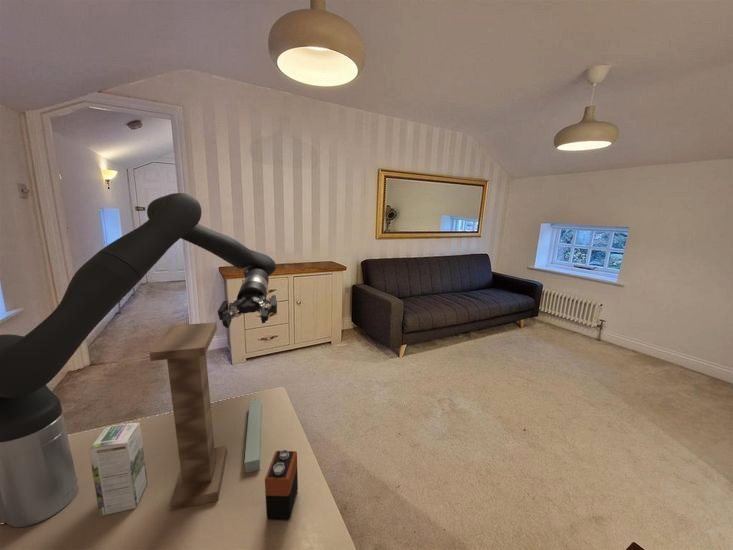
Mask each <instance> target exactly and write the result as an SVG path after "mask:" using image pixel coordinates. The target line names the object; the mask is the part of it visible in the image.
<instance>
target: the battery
mask: <svg viewBox="0 0 733 550" xmlns="http://www.w3.org/2000/svg"><path fill="white" fill-rule="evenodd" d="M298 479H299V477H298V452H297V450H296V451H295V450H288V449H282V450H276V451H275V452H274V454H273V457H272V459H271V462H270V464H269V467H268V469H267V472H266V474H265V477H264V489H265V490H264V491H265V507H266V508H265V509H266V511H265V512H266V519H267V520H269V521H270V520H271V521H289V520H290V519H291V517H292V513H293V508H294V505H295V502H296V498H297V493H298V489H299V482H298Z"/></svg>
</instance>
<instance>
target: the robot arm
mask: <svg viewBox="0 0 733 550" xmlns="http://www.w3.org/2000/svg"><path fill="white" fill-rule="evenodd" d="M202 212H203V211H202V207H201V204H200V202H199V200H198V199H197V198H195V197H194V196H192V195H190V194H188V193H184V192H183V193H182V192H174V193H169V194H167V195H164V196H160V197H158V198H155V199H153V200H152V201H151V202H150V203H149V204H148V206H147V208H146V216H147V218H148V219H147V221H145V222H144V223H142V224H141V225H139V227H137V228H134V229H133V230H131V231H129V232H128V233H125V234H124V235H122V236H120V237H119V238H117V239H115V240H114V241H113V242H111V243H109V244H107V245H106V246H104V247H103V248H101V249H100V250H99V251H98V252H96V254H94V255H92V257H91V258H90V259H88V260H87V261H86V262H85V263H84V264H83V265H81V267H79V268H78V270H77V271H76V272H75V273H74V275H72V278H71V280H70V282H69V283H68V285H67V288H66V290H65V293H64V295H63V297H62V299H61V301H60V302H59V303H58V305H57V306H56V307H55V309H54V310H53V311H52V312H51V313H50V314H49V315H48V316H47V317H46V318H45V319H44V320H42V321H41V322H40V323H39V324H38V325H37V326H35V327H34V328H33V329H32V330H31V331H29V332H28V333H27V334H25V335H24V336H23V335H20V334H19V335H18V334H11V333H10V334H7V333H5V334H0V523H8V524H7V525H9V526H10V525H11V526H10V527H12V528H24V527H29V526H33V525H35V524H38V523H41V522H43V521H46V520H47V519H48V518H50V517H52V516H54V515H56V514H57V513H58V512H60V511H61V510H63V509H64V508H65V507H66V506H68V505H69V504H70V503H71V502H72V500H74V498H75V497H76V495H77V494H78V490H79V485H78V478H77V472H76V469H75V464H74V459H73V455H72V450H71V449H72V448H71V444H70V441H69V440H70V439H69V435H68V430H67V426H66V422H65V418H64V417H65V416H64V412H63V409H62V404H61V400H60V398H59V397H58V395H56V394H55V393H54V392H53V391H52V390H50V388H49V387H48V386H47V384H49V383H50V382H51V381H52V380H54V378H56V376H57V375H58V374H59V373H60V372H61V371H62V369H63V368H64V367H65V366H66V364H67V363H68V362H69V360H70V359H71V358H72V356H74V354H75V353H76V351H77V350H78V349H79V348H80V347H81V345H83V342H84V341H85V340H86V339H87V338H88V336H89V335H90V334H91V333H92V332H93V331H94V329H95V328H96V327H97V326H98V325H99V324H100V323H101V322H102V321H103V320H104V318H106V316H107V315H108V314H110V312H111V311H112V310H113V309H114V308H115V307H116V305H118V304H119V303H120V302H121V300H122V299H123V298H124V297H126V296H127V295H128V294H129V293H130V292H131V291H132V290H133V289H134V288H135V287H136V285H137V284H138V283H139V282H141V280H142V279H143V278H144V277H145V276H146V274H147V273H148V272H149V271H150V270H151V269H152V268H153V267H154V266H155V265H156V264H157V263H158V262H159V261H160V259H161V258H162V257H163V256H164V255H165V254H166V253H167V252H168V251H169V249H171V247H173V245H174V244H175V243H176V242H178V241H179V240H180V239H181V240H184V241H186V242H189V243H190V244H193V245H195V246H196V247H199V248H201V249H203V250H205V251H208V252H209V253H211V254H213V255H215V256H217V257H218V258H220V259H222V260H223V261H225V262H227V263H228V264H229V265H231V266H233V267H235V268H237V269H241V270H242V269H243V276H244V280H243V282H242V283H241V285H240V288H239V290H238V294H237V296H236V300H234V302H229V301H228V300H223V301H222V303H221V304H220V306H219V307H218V309H217V315H218V317H219V318H218V320H219V321H222V326H223V327H224V328H225V329H229V328H230V326H231V323H232V320H233V319H234V318H239V317H240V316H242V315H244V314H249V313H250V314H251V313H256V312H257V313H258V314H259V315H260V320H261V324H266V322H268V321H269V317H270V315H271V314H274V315H275V314H277V313H278V301H277V296H276V295H275V294H273V295H271V296H270V297H269V298H267V295H268V292H269V291H268V289H269V281H270V280H269V279H270V276H271V275H272V274H274V273H275V271H276V269H277V264H276V261H274V259H273V258H272V257H270V256H268V255H267V254H265V253H261V252H258V251H255V250H253V249H250V248H248V247H246V246H245V245H244V244H242V242H241V243H240V242H239V241H238V240H236V239H235V238H234V237H233V238H232V237H231V236H228V235H226V234H224V233H221V232H218V231H216V230H214V229H213V230H212V229H210V228H208V227H206V226H204V225H202V224H200V223H199V222H200V221H201V220H202V219H201V218H202ZM267 304H269V305H270V306H269V305H267ZM231 313H232V314H231Z"/></svg>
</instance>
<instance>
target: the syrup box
mask: <svg viewBox="0 0 733 550" xmlns="http://www.w3.org/2000/svg"><path fill="white" fill-rule="evenodd" d="M144 451H145V450H144V444H143V436H142V428H141V423H140V422H130V423H122V424H121V423H120V424H114V425H111V426H106V427H105V428H104V429H103V431H102V432H101V433H100V434H99V436H98V437H97V439H96V440H95V441H94V443H93V444H92V445H91V446H90V448H89V449H88V454H89V460H90V461H89V462H90V465H91V473H92V478H93V483H94V489H95V490H94V491H95V495H96V501H97V507H98V512H99V513H98V514H99V517H103V516H107V515H113V514H116V513H121V512H125V511H129V510H132V509H136V508H137V507H138V505H139V502H140V500H141V498H142V495H143V493H144V492H145V489H146V487H147V484H148V475H147V468H146V461H145V452H144Z"/></svg>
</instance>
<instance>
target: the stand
mask: <svg viewBox="0 0 733 550" xmlns="http://www.w3.org/2000/svg"><path fill="white" fill-rule="evenodd" d="M217 330H218V327H217V322H203V323H202V322H201V323H190V324H189V323H188V324H187V323H186V324H176V325H175V324H174V325H171V326H170V327H169V329H168V330H167V332H166V333H165V334H164V335H163V336H162V337H161V339H160V340H159V341H158V342H157V343H156V344H155V346H153V348H152V349H151V351H149V358H150V360H149V361H150V362H154V361H155V362H156V361H165V360H166V362H167V364H166V365H167V369H168V370H167V371H168V372H167V373H168V378H169V385H170V387H169V388H170V394H171V395H170V396H171V403H172V410H173V419H174V426H175V435H176V443H177V444H176V445H177V452H178V459H179V467H180V468H179V469H180V472H179V475H178V477H177V481H176V484H175V486H174V488H173V489H174V490H173V493H172V496H171V498H170V502H169V506H170V507H169V508H170V511H171V512H173V511H174V512H175V511H177V510H182V509H186V508H191V507H195V506H199V505H203V504H208V503H212V502H217V501H219V499H220V493H221V487H222V482H223V476H224V472H225V467H226V461H227V456H228V446H227V445H220V446H216V447H215V439H214V437H215V435H214V429H213V428H214V427H213V416H212V407H211V404H212V403H211V395H210V394H211V393H210V384H209V383H210V382H209V374H208V363H207V351H208V350H209V347H210V345H211V344H212V341H213V338H214V337H215V334H216V332H217Z"/></svg>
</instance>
